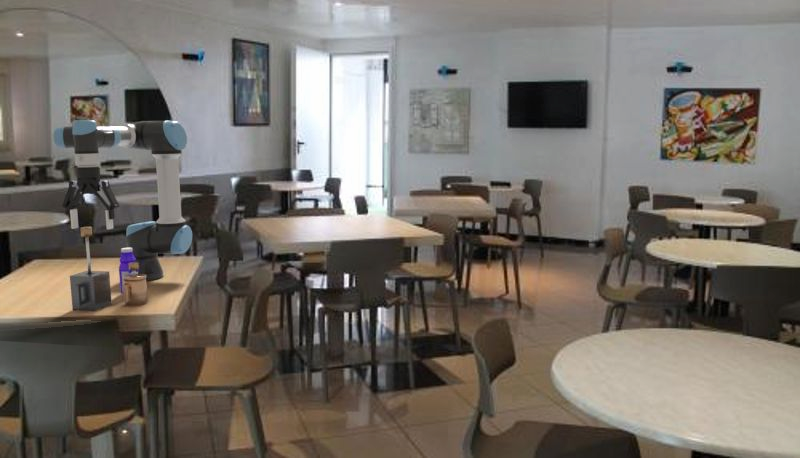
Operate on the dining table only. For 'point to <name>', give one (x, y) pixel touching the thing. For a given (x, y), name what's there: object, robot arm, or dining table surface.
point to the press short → (134, 287)
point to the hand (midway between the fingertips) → (92, 228)
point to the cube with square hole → (90, 290)
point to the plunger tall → (87, 243)
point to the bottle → (125, 264)
